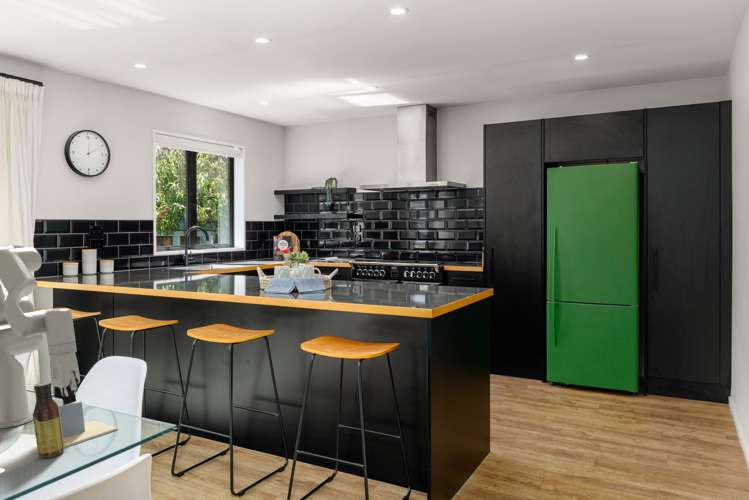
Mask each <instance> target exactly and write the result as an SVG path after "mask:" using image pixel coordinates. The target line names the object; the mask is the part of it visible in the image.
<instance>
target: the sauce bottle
mask: <svg viewBox="0 0 749 500" xmlns="http://www.w3.org/2000/svg"><path fill="white" fill-rule="evenodd" d="M33 390H34V392H35V393H34V394H35V405H34V410H33V412H32V413H33V420H32V421H33V425H34V427H33V428H34V433H35V434H34V435H35V443H36V448H37V453H38V456H39V458H40V459H50V458H55V457H57V456H59V455H61V454H62V453H64V452H65V448H64V447H63V446H64V442H63V434H62V427H61V419H60V414H59V405H58V403H57V402H56V401H55V400H54V398H53V395H52V381H44V382H39V383H35V384H34V385H33Z"/></svg>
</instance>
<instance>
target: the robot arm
mask: <svg viewBox="0 0 749 500" xmlns="http://www.w3.org/2000/svg"><path fill="white" fill-rule="evenodd" d="M42 262H43V261H42V256H41V254H40V252H39V251H38V250H37V249H35V247H32V246H26V245H25V246H24V245H18V244H17V245H15V244H10V245H9V244H7V245H6V244H5V245H0V282H1V283H0V327H4V326H10V327H7V328H1V329H0V430H1V429H8V428H13V427H18V426H21V425H24V424H27V423H30V422H32V421H34V420H33V413H34V412H30V409H29V399H28V392H27V391H28V389H27V383H26V375H25V369H24V368H25V367H24V366H23V364H22V363H21V362H20V361H19V360H18V359H17V358H16V357H15V356H19V355H23V354H26V353H32V352H35V351H38V350H39V349H41V348H42V346H43V343H44V337H43V336H44V335H46V341H47V342H46V343H47V348H48V356H49V363H50V367H49V368H50V380H51V381H50V382H51V386H53V387H56V388H59V389H60V393H61V396H62V397H61V398H62V404H63V405H66V404H69V403H73V402H76V401H77V396H76V393H77V392H76V390H78V386H77V385H79V384H80V382H81V378H80V377H81V376H80V375H81V374H80V370H79V364H78V358H77V355H76V352H78V351H77V350H78V349H77V343H76V335H75V327H74V321H73V320H74V319H73V313H72V310H71V309H70V308H46V309H40V310H35V307H34V304H33V302H32V301H31V300H30V299H29V298H28V297H27V296H29V295H31V294H32V293H33V292H34V291H35V290H36V289H37V286H38V282H37V280H36V278H35V277H34V275H33V274H32V272H36V271H39V269H40V268H41V266H42V265H43V263H42ZM2 285H3V286H2ZM3 287H4V288H5V290H6V291H7V293H8V294H7V296H6V294H5V293H4V290H3Z"/></svg>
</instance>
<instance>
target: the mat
mask: <svg viewBox="0 0 749 500" xmlns="http://www.w3.org/2000/svg"><path fill="white" fill-rule="evenodd" d="M84 426H85V431H84V432H81V433H78V434H75V435H72V436H69V437H66V438H63V442H64V446H63V447H64V449H66V448H68V447H71V446H75V445H77V444H80V443H83V442H86V441H89V440H91V439H94V438H95V439H96V438H98V437H101V436H104V435H106V434H110V433H112V432H116V431H118V430H119V428H118V427H116V426H113V425H109V424H106V423H103V422H99V421H97V420H92V421H88V422H84ZM115 430H116V431H115Z"/></svg>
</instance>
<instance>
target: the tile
mask: <svg viewBox="0 0 749 500" xmlns="http://www.w3.org/2000/svg"><path fill="white" fill-rule="evenodd" d="M58 407H59V414H60V419H61V427H62V434H63V438H66V437H69V436H72V435H75V434H78V433H81V432H84V431H85V426H84V424H85V419H84V409H83V401H81V400H80V401H79V400H76V402H73V403H69V404H66V405H58Z"/></svg>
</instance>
